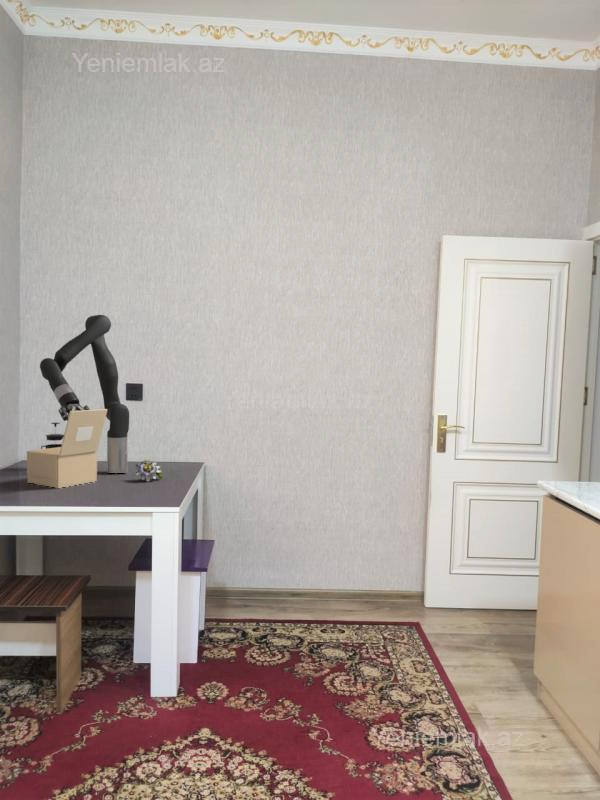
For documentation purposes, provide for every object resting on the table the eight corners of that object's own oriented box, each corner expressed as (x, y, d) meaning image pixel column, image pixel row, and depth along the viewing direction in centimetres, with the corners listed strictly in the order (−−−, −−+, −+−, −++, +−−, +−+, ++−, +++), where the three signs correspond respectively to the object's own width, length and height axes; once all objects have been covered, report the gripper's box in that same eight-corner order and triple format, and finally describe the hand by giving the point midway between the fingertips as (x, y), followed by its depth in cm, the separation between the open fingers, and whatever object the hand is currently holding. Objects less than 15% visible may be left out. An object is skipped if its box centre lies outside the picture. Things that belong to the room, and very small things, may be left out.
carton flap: (69, 411, 263) (71, 411, 263) (106, 409, 280) (107, 409, 279) (59, 455, 268) (60, 455, 267) (96, 450, 284) (97, 451, 284)
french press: (67, 467, 322) (67, 421, 321) (66, 470, 313) (66, 423, 312) (42, 468, 319) (41, 421, 318) (40, 471, 310) (40, 423, 309)
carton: (25, 483, 278) (25, 451, 278) (66, 476, 297) (66, 446, 296) (57, 489, 268) (57, 455, 267) (97, 481, 286) (97, 450, 285)
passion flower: (147, 494, 288) (133, 474, 283) (142, 485, 297) (127, 465, 292) (169, 479, 291) (155, 458, 286) (162, 470, 300) (149, 451, 295)
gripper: (56, 391, 271) (74, 421, 266) (84, 391, 283) (101, 419, 278) (48, 403, 274) (65, 433, 269) (75, 402, 286) (93, 430, 281)
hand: (84, 426), depth 273 cm, fingers open, 8 cm apart
